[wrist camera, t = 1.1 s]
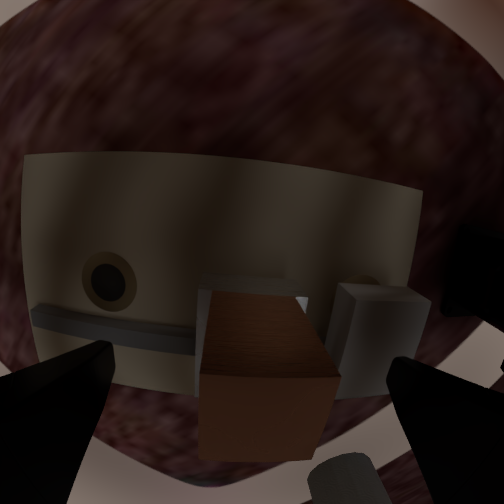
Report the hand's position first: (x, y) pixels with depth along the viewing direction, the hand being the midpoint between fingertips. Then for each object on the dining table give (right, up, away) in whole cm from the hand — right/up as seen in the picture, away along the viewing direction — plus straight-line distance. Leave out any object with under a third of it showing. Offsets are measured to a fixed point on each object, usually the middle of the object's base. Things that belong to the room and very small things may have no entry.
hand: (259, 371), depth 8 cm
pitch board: (-3, +2, +7) cm, 8 cm away
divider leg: (-1, 0, +6) cm, 6 cm away
